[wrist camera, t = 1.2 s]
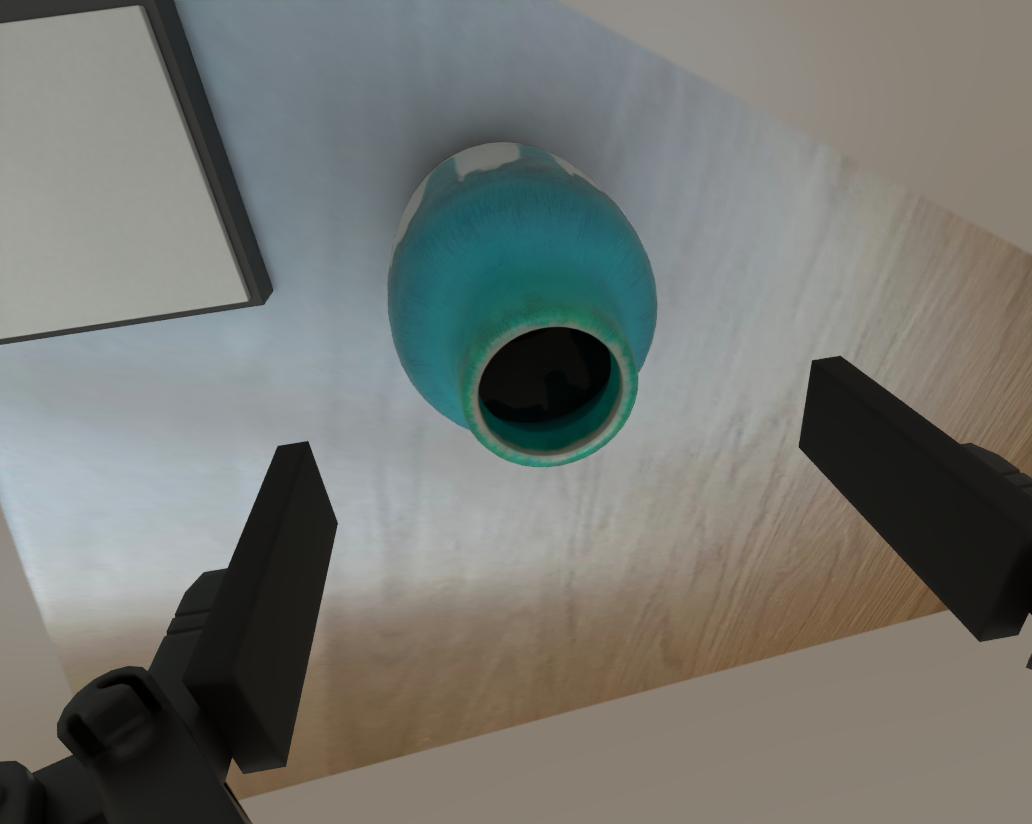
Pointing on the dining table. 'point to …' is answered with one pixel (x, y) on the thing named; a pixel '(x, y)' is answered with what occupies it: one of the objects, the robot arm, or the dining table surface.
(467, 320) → the vase
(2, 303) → the scale
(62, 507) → the dining table surface
